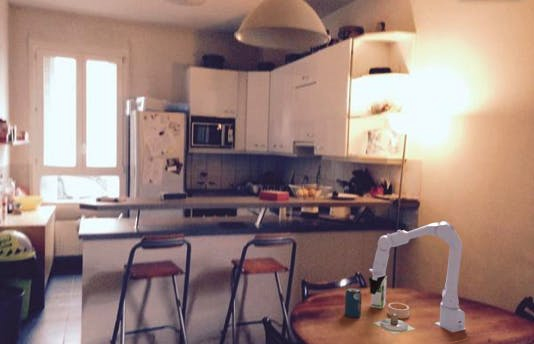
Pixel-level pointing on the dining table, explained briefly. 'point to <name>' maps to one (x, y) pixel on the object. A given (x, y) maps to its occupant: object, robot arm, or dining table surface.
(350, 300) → the soda can
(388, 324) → the lid
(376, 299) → the syrup box
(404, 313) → the bowl
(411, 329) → the mat
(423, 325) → the dining table surface
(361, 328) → the dining table surface
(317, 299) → the dining table surface
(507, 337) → the dining table surface
